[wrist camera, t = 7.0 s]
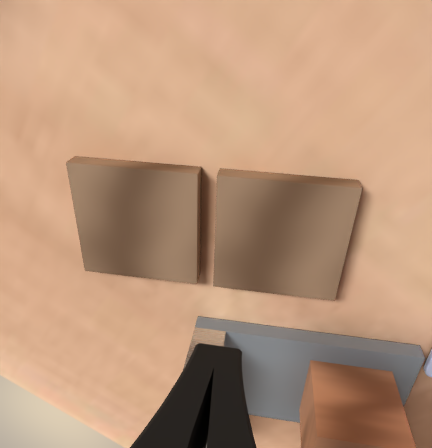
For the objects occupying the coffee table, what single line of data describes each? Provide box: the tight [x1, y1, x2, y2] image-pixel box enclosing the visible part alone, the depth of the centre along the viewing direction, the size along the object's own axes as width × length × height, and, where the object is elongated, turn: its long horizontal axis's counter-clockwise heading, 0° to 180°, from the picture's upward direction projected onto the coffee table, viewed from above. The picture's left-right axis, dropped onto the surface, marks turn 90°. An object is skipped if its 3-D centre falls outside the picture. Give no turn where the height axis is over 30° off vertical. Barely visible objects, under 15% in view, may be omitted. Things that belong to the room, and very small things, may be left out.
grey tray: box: [183, 316, 425, 447], centre depth 24 cm, size 14×8×4 cm, turn 88°
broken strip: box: [66, 156, 362, 301], centre depth 21 cm, size 15×7×1 cm, turn 88°
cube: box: [299, 360, 416, 448], centre depth 23 cm, size 5×5×5 cm
